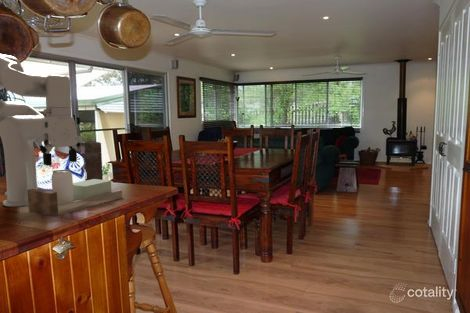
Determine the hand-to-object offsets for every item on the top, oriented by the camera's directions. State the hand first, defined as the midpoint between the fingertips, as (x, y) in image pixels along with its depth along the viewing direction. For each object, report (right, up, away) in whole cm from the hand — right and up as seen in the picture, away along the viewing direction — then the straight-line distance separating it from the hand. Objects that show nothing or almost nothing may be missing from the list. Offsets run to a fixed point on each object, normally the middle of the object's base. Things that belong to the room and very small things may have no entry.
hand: (60, 163), depth 126 cm
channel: (+3, -15, +7) cm, 17 cm away
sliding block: (+6, -13, +11) cm, 18 cm away
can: (0, -15, +1) cm, 15 cm away
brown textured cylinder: (-5, -11, +43) cm, 44 cm away
